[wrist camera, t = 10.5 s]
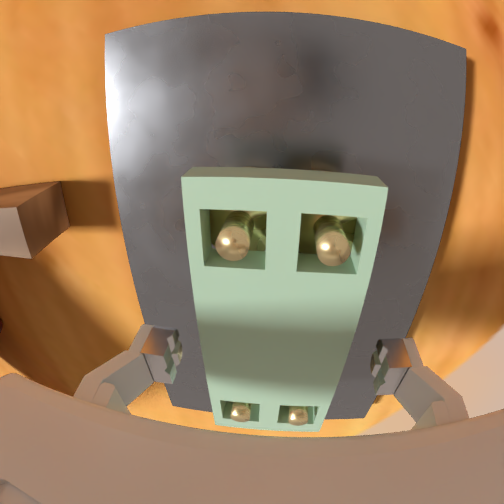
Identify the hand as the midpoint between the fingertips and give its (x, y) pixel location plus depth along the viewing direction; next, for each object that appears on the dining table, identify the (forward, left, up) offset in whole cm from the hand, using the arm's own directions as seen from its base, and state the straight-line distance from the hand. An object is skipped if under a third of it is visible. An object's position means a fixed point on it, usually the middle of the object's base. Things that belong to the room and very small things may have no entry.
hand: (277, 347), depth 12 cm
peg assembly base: (0, 0, -6) cm, 6 cm away
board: (0, 0, -1) cm, 1 cm away
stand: (-4, -19, -6) cm, 20 cm away
